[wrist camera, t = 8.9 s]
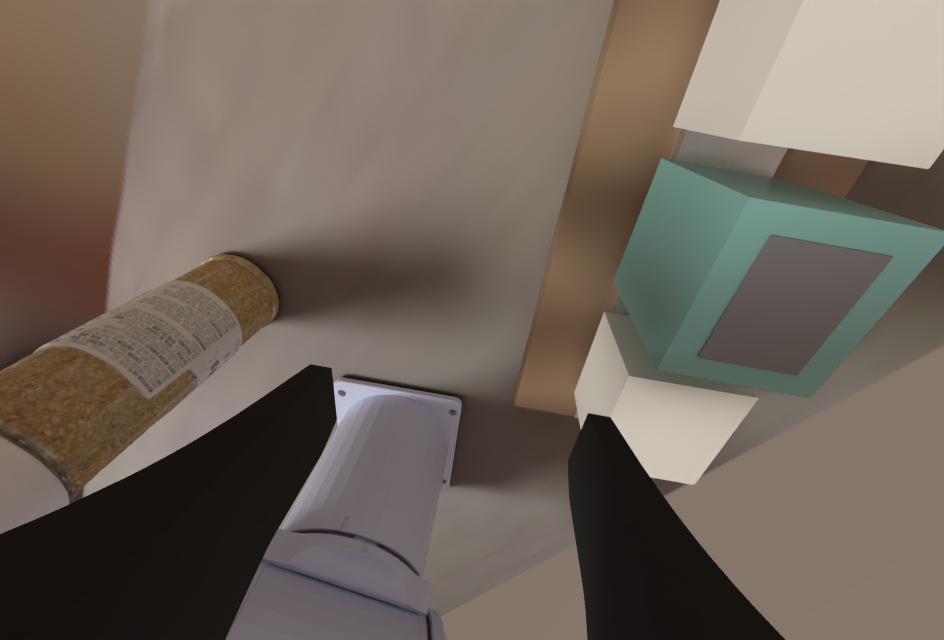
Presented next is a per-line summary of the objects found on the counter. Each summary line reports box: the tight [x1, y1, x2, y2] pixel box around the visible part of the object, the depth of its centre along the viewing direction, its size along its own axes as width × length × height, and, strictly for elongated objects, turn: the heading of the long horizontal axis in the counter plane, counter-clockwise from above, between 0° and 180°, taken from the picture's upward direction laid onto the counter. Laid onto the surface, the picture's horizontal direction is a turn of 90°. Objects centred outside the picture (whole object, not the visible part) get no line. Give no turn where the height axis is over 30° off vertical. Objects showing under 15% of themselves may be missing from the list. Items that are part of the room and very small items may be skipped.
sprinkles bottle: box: [0, 254, 279, 534], centre depth 15 cm, size 5×5×14 cm
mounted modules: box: [574, 0, 944, 485], centre depth 13 cm, size 18×4×4 cm, turn 173°
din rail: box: [573, 129, 788, 418], centre depth 15 cm, size 21×4×1 cm, turn 173°
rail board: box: [514, 0, 870, 416], centre depth 16 cm, size 22×10×1 cm, turn 173°
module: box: [613, 158, 944, 398], centre depth 12 cm, size 5×4×6 cm
